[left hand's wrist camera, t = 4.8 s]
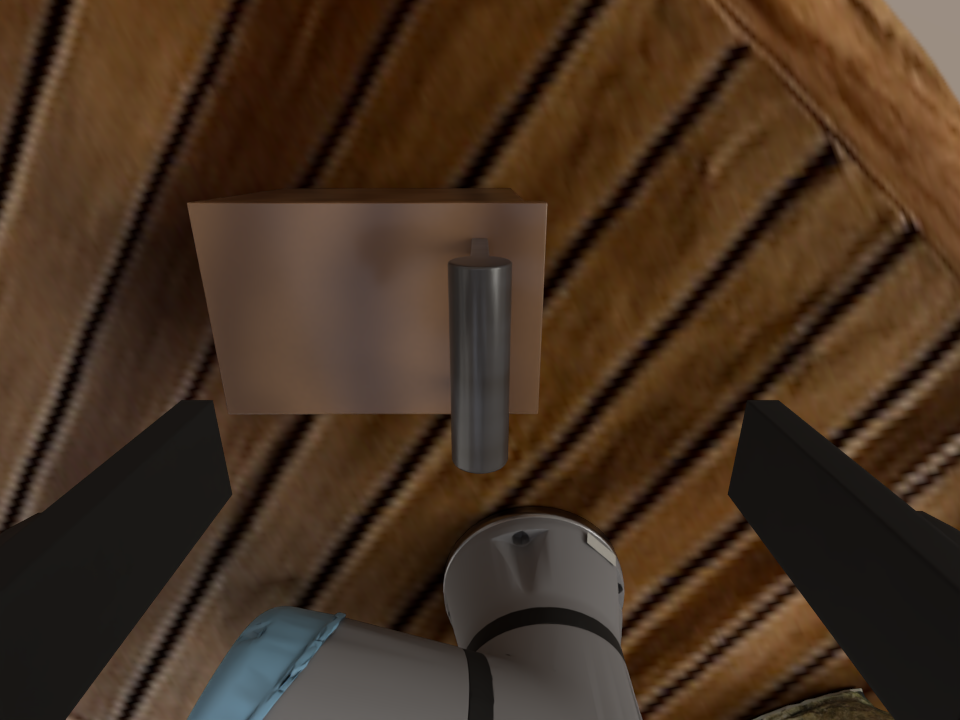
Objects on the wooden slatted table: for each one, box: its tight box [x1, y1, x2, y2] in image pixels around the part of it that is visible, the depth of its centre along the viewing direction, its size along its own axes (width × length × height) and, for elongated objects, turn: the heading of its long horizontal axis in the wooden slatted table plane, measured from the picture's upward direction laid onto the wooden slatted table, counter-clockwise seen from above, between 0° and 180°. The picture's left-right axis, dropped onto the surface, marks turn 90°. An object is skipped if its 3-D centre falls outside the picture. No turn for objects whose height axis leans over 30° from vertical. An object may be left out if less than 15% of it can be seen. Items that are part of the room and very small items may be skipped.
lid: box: [187, 201, 547, 473], centre depth 21 cm, size 16×10×8 cm, turn 90°
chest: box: [203, 188, 524, 201], centre depth 30 cm, size 15×10×11 cm
